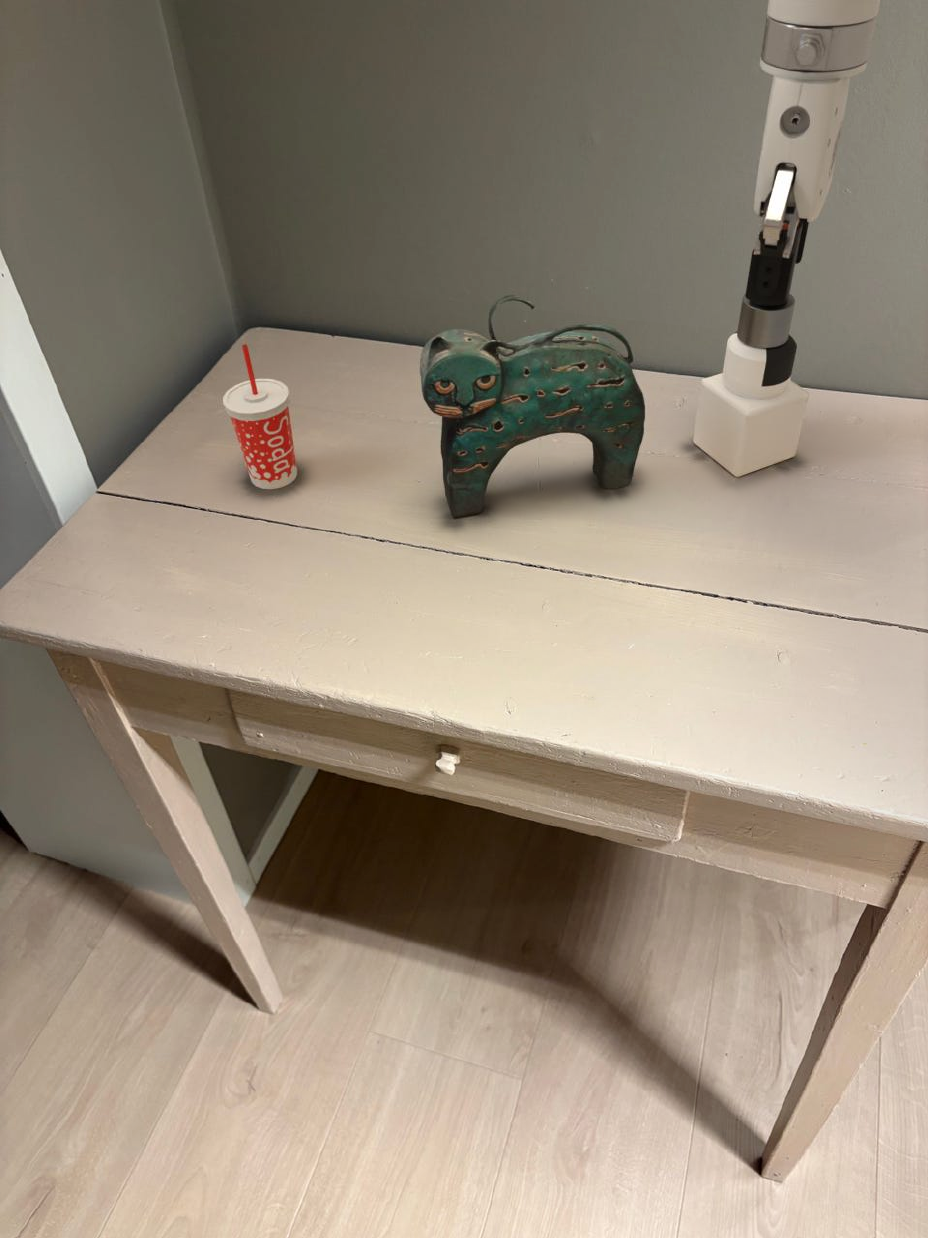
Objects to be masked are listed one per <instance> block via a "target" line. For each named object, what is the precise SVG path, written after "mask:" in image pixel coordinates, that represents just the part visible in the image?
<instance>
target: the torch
mask: <svg viewBox="0 0 928 1238" xmlns="http://www.w3.org/2000/svg"><path fill="white" fill-rule="evenodd" d="M788 228H789V223H783V227H782V230H785V232H786V234H787V232H788ZM801 231H802V223H801V222H800V219H799V221H798V224H797V228H796V233H795V237H794V241H793V246H792V250H791V254H794V259H793V264H792V269H791V275H790V280H789V285H788V290H787V295H786V299H785V301H784V302H783V303H781V304H778V303H770V302H762V301H755V300H749V299H747V298H746V296H745V294H746V292H745V293H744V294H743V295H742V298H741V299H742V300H741V304H740V305H741V306H740V312H739V319H738V324H737V330H736V331H737V337H738V339H739V340H740V341H741V342H743V343H744V344H746V345H749V346H752V347H757V348H773V347H778V346H781V345H783V344H784V343H785V342H786V341H787V340H788V336H789V335H790V329H791V324H792V320H793V315H794V309H795V305H796V299H795V297H794V296H793V294H791V287H792V283H793V277H794V272H795V267H796V264H795V262H796V257H797V252H798V246H799V241H800V236H801Z"/></svg>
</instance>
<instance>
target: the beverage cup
mask: <svg viewBox="0 0 928 1238" xmlns="http://www.w3.org/2000/svg"><path fill="white" fill-rule="evenodd" d="M241 348H242V353H243V357H244V361H245V366H246V369H247V374H248V380H245V381H242V382H240V383H237V384H235V385H233V386H232V387H231V388H229V389H228V390H227V391H226V392H225V394H224V395H223V397H222V402H223V403H222V404H223V407H224V408H225V413H227V414H228V416H229V418H230V420H231V423H232V427H233V430H234V432H235V435H236V439H237V442H238V445H239V447H240V451H241V454H242V458H243V459H244V463H245V466H246V469H247V472H248V476H249V479H250V482H251V483H252V484H253V485H254V486H255V487H257V488H259V489H262V490H277V489H281V488H284V487H287V486H288V485H290V484H292V483H293V482H294V481H295V480H296V478H297V476H298V469H297V461H296V453H295V445H294V439H293V432H292V431H293V430H292V423H291V417H290V409H289V404H290V402H291V398H290V392H289V387H288V386H287V385H286V384H285V383H284V382H283V381H279V380H277V379H273V378H256V377H255V373H254V369H253V365H252V361H251V357H250V351H249V348H248V344H241Z"/></svg>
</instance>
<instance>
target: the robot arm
mask: <svg viewBox="0 0 928 1238" xmlns="http://www.w3.org/2000/svg"><path fill="white" fill-rule="evenodd" d="M880 5H881V0H768V4H767V10H766V18H765V24H764V25H765V26H764V32H763V39H762V46H761V52H760V59H759V68H760V69H761V71H763V72H765V73H766V74H769V75H771V76H772V82H771V86H770V92H769V99H768V105H767V110H766V116H765V123H764V129H763V135H762V143H761V147H760V154H759V161H758V168H757V176H756V183H755V191H754V200H753V201H754V202H753V212H754V213H755V214H756V215H757V216H758V217H760V220H759V225H758V231H757V235H756V240H755V243H754V248H753V249H752V252H751V258H750V264H749V270H748V277H747V283H746V289H745V293H746V294H745V293H744V294H745V296H746V298H747V299H749V300H755V301H762V302H770V303H778V304H781V303H783V302H784V301H785V299H786V295H787V290H788V285H789V280H790V275H791V269H792V264H793V259H794V254H791V250H792V246H793V241H794V237H795V233H796V228H797V224H798V221H799V219H800V222H801V223H802V231H801V236H800V241H799V246H798V252H797V257H796V262H795V265H798V264H799V263H801V261H802V259H803V256H804V250H805V245H806V239H807V235H808V229H809V225H810V223H812V222H813V221H815V220H817V218H819V215H820V214H821V211H822V210H823V206H824V204H825V202H826V199H827V197H828V194H829V191H830V188H831V186H832V182H833V177H834V171H835V165H836V160H837V153H838V148H839V143H840V138H841V133H842V127H843V123H844V117H845V112H846V107H847V101H848V94H849V89H850V88H849V87H850V82H851V77H855V76H857V75H859V74H862V73H863V72H865V70H866V68H867V65H868V62H869V61H868V60H869V55H870V51H871V47H872V42H873V37H874V32H875V29H876V28H875V27H876V23H877V18H878V14H879V9H880ZM783 223H789V228H788V232H787V234H786V232H785V230H782V227H783Z"/></svg>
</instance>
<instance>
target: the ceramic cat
mask: <svg viewBox="0 0 928 1238" xmlns="http://www.w3.org/2000/svg"><path fill="white" fill-rule="evenodd" d="M510 301H511V302H512V301H514V302H521V303H523V304H525V305H527V306H528V307H530V309H531V310H534V308H536V305H534V304H533V302H532V301H530V300H529V299H528V298H527V297H526V296H522V295H520V294H509V295H504V296H502V297H501V298H499V299H497V300H496V301H495V302H494V303H493V304H492V305H491V307H490V309H489V313H488V333H489V336H490V338H491V340H490V339H487V338H486V337H484V336H483V335H481V334H479V333H477V332H475V331H472V330H470V329H461V328H451V329H448V330H444V331H442V332H440V333H438V334H436V335H435V336H434V337H432V338H430V339H429V340H428V341H427V342H426V343H425V345H424V346H423V348H422V350H421V353H420V360H419V361H420V362H419V374H420V385H421V394H422V398H423V400H424V402H425V404H426V405H427V407H428V408H429V410H430V411H431V412H432V413H433V414H435V415H437V416H439V417H441V430H440V431H441V432H440V444H439V445H440V446H439V447H440V455H441V460H442V480H443V488H444V495H445V498H446V501H447V505H448V508H449V511H450V514H451V517H452V519H457V518H458V519H459V518H464V517H469V516H475V515H479V514H481V513H482V512H483V511H484V506H485V497H486V491H487V487H488V486H489V482H490V479H491V478H492V475H493V473H494V472H495V470H496V469H497V467H498V466H499V465H500V463H501V461H502V460H503V459H504V458H505V456H506V455H507V454H508V453H509V451H511V450H513V449H514V448H516V447H517V446H519V445H522V444H524V443H528V442H530V441H533V440H535V439H538V438H542V437H545V436H550V435H554V434H578V435H581V436H583V437H585V438H586V439H587V440H588V441H590V442H591V445H592V466H591V467H592V468H591V470H592V474H593V476H594V477H595V480H596V481H597V483H598V485H599V486H600V487H602V488H604V489H606V490H607V489H609V490H613V489H614V490H615V489H618V488H622V487H625V486H628V485H630V484H631V483H632V482H633V476H634V473H635V469H636V468H635V467H636V463H637V459H638V456H639V451H640V449H641V444H642V442H643V438H644V434H645V420H646V403H645V397H644V393H643V391H642V389H641V387H640V386H639V384H638V382H637V379H636V376H635V374H634V372H633V371H634V370H633V368H632V366H631V364H632V363H633V362H634V356H633V351H632V348H631V345H630V343H629V341H628V339H626V337H625V336H624V335H623V334H622V333H621V332H620V331H619V330H617V329H615V328H614V327H612V326H611V327H610V326H607V325H602V324H591V323H589V324H574V325H568V326H565V327H561V328H560V329H556V330H554V331H550V332H542V333H536V334H532V335H531V334H530V335H528V336H524V337H522V338H519V339H516V340H513V341H510V342H507V343H505V342H503V341H501V340H497V338H496V336H495V333H494V329H493V324H492V317H493V313H494V312H495V311H496V310H497V308H498V307H499V306H500V305H502V304H503V303H507V302H510ZM579 331H589V332H603V333H607V334H610V335H612V336H614V337H615V338H616V339H618V340H619V341H620V342H622V344H623V345H624V346H625V348H626V351H627V356H624V355H623V354H622V353H621V352H620V351H619V349H617V348H616V347H615V346H614V345H612V344H611V342H609V341H607V340H605V339H603V338H602V337H599V336H597V335H595V334H592V333H588V332H579Z"/></svg>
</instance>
